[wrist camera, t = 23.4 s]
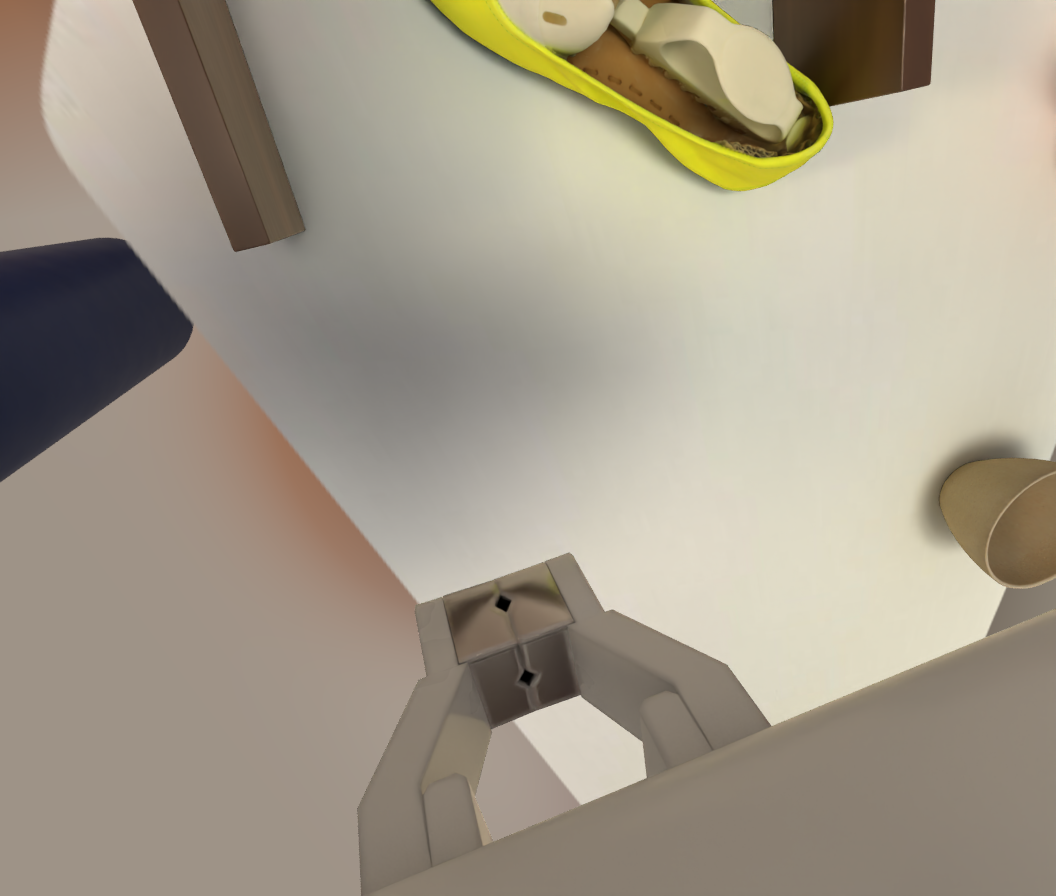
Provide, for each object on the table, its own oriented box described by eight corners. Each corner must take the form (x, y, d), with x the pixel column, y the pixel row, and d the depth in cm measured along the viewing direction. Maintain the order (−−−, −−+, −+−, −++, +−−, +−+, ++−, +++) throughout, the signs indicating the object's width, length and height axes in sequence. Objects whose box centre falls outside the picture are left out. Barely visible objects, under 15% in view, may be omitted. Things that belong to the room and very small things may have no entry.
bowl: (1041, 456, 51) (1134, 494, 44) (967, 553, 53) (1045, 602, 47) (963, 414, 47) (1052, 449, 41) (888, 520, 50) (961, 568, 44)
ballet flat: (440, -203, 28) (454, -345, 21) (810, 94, 36) (915, 68, 29) (371, -20, 30) (361, -90, 23) (735, 222, 38) (815, 228, 31)
